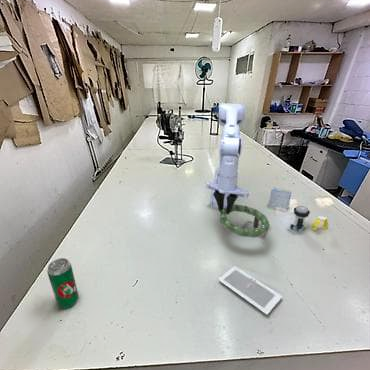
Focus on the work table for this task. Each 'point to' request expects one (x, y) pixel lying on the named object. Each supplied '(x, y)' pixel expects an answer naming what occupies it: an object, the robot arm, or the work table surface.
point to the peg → (256, 223)
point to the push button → (299, 218)
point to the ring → (243, 231)
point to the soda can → (63, 283)
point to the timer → (320, 218)
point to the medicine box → (280, 197)
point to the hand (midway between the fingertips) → (224, 211)
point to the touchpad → (251, 289)
